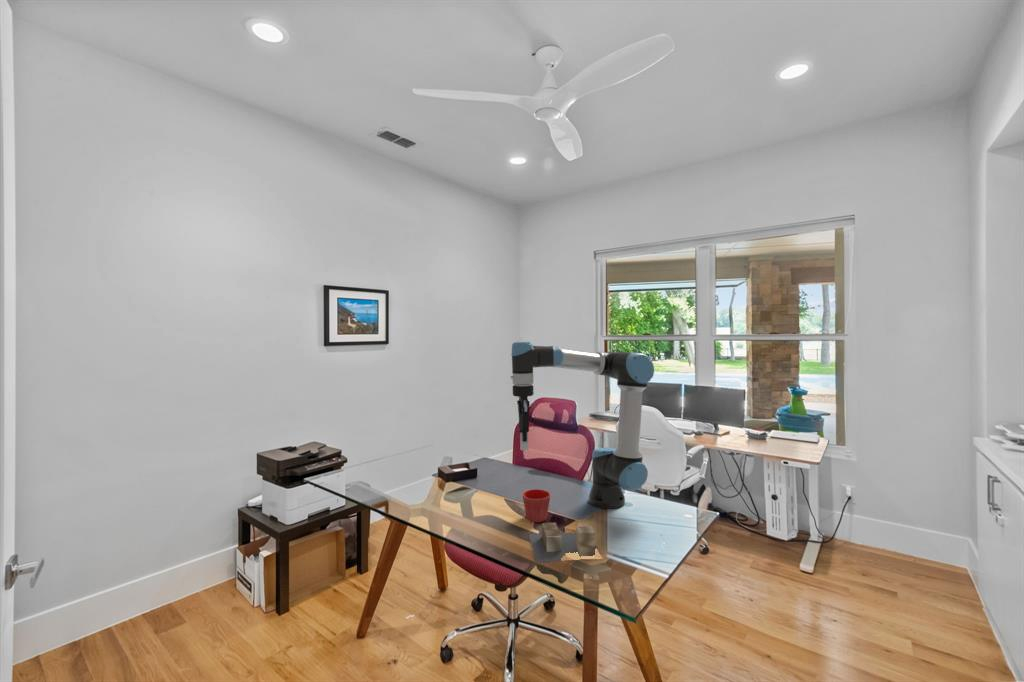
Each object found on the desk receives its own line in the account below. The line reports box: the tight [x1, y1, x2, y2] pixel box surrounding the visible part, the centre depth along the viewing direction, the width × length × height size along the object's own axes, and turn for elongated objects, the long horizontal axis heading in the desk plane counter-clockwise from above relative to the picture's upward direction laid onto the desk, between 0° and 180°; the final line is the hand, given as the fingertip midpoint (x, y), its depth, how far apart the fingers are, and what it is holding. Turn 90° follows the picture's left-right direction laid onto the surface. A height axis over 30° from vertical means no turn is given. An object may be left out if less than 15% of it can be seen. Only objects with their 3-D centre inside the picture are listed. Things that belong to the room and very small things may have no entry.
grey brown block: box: [541, 522, 562, 552], centre depth 157 cm, size 5×5×11 cm
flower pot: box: [522, 489, 551, 523], centre depth 180 cm, size 11×11×10 cm
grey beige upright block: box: [575, 525, 596, 557], centre depth 150 cm, size 5×5×8 cm
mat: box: [528, 531, 599, 564], centre depth 156 cm, size 22×20×1 cm
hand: (524, 449), depth 165 cm, fingers closed
